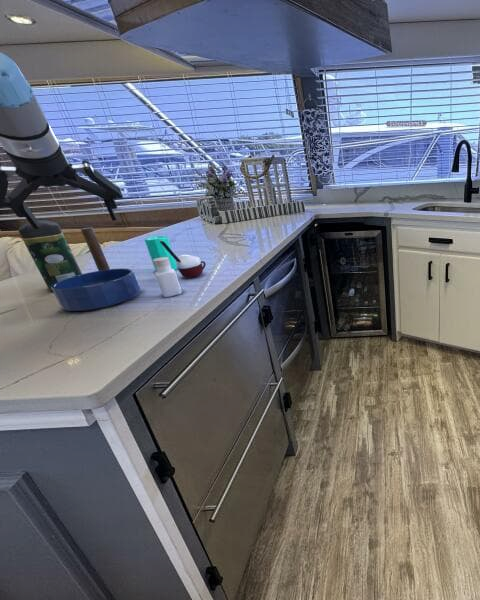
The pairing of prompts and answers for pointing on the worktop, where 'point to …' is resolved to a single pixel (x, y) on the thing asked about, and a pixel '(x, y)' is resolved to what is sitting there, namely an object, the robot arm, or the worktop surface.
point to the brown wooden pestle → (95, 248)
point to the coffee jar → (50, 251)
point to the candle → (160, 249)
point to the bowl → (96, 289)
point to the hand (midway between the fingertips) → (76, 220)
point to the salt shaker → (166, 277)
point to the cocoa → (187, 264)
